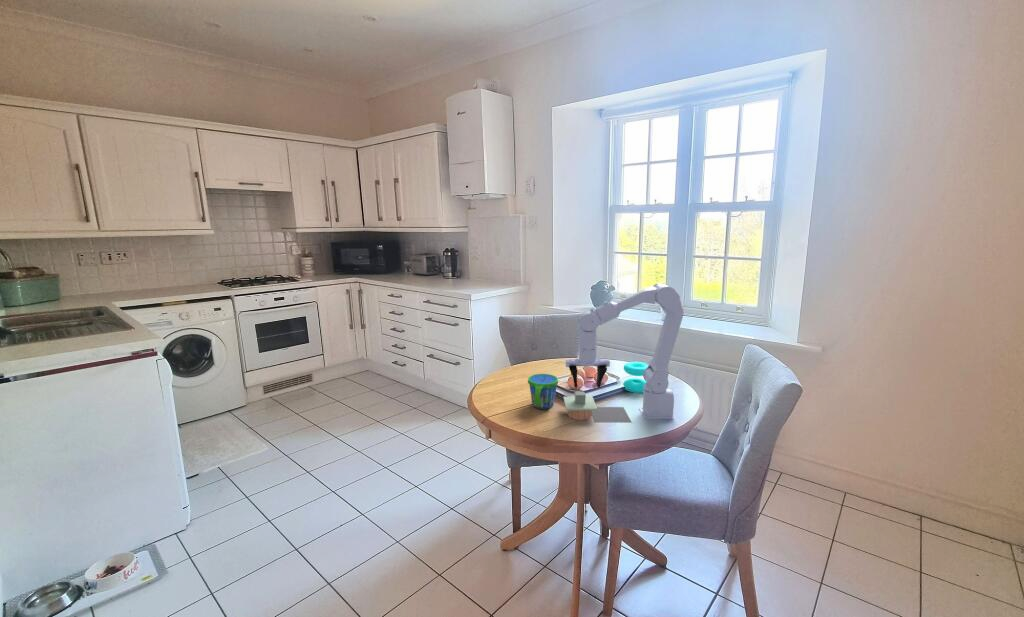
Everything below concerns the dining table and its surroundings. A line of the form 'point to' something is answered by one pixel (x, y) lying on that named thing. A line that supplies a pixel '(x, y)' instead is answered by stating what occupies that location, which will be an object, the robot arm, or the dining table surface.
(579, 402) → the lid
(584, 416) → the bowl
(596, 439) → the dining table surface
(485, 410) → the dining table surface
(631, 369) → the donuts
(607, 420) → the mat
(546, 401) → the snack cup
